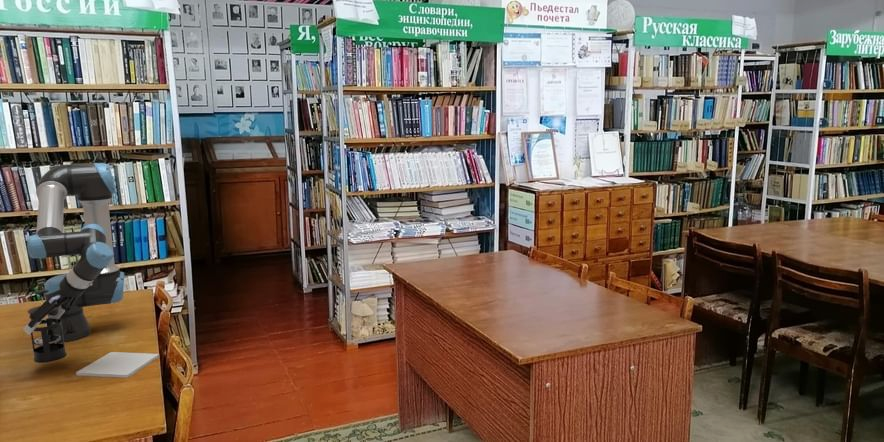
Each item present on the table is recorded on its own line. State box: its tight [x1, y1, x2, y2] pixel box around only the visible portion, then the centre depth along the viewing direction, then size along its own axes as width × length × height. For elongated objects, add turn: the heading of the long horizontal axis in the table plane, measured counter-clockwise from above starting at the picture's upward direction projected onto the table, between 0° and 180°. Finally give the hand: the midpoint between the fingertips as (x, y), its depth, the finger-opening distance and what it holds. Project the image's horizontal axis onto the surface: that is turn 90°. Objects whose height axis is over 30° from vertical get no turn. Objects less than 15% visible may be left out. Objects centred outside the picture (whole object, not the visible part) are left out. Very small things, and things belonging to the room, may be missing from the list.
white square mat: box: [75, 351, 160, 379], centre depth 219 cm, size 18×18×1 cm
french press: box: [27, 289, 67, 364], centre depth 216 cm, size 12×9×23 cm
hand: (38, 326), depth 217 cm, fingers closed on french press, 10 cm apart
